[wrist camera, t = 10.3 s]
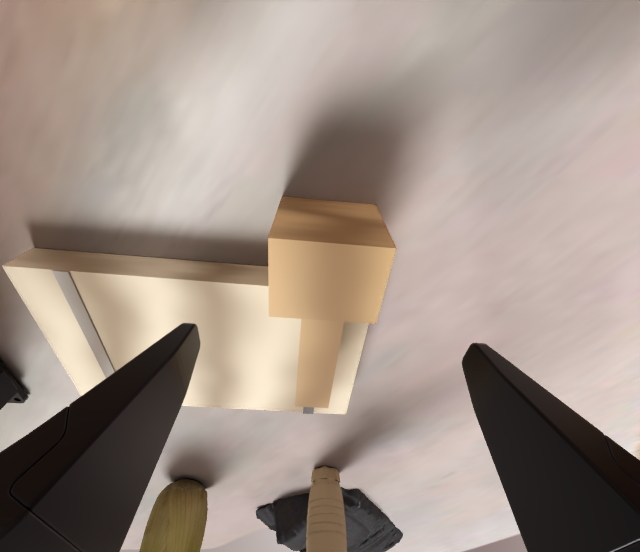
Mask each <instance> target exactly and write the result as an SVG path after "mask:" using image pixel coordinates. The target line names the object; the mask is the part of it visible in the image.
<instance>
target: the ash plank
mask: <svg viewBox="0 0 640 552" xmlns="http://www.w3.org/2000/svg"><path fill="white" fill-rule="evenodd" d="M2 267H3V269H4V270H5V272H6V274H7V275H8V277H9V279H10V280H11V282H12V283H13V285H14V287H15V288H16V290H17V292H18V293H19V295H20V297H21V298H22V300H23V301H24V303H25V305H26V306H27V308H28V310H29V311H30V313H31V315H32V316H33V318H34V319H35V321H36V323H37V324H38V326H39V328H40V329H41V331H42V333H43V334H44V336H45V337H46V339H47V341H48V342H49V344H50V346H51V347H52V349H53V351H54V352H55V354H56V355H57V357H58V359H59V360H60V362H61V364H62V365H63V367H64V369H65V370H66V372H67V373H68V375H69V377H70V378H71V380H72V382H73V383H74V385H75V387H76V388H77V390H78V391H79V393H80V395H81V396H82V395H84V394H85V393H86V392H88V391H89V390H91V389H92V388H93V387H95V386H96V385H97V384H99V383H100V382H102V381H103V380H104V379H106V378H107V377H109V376H110V375H111V374H113V373H114V372H115V371H117V370H118V369H120V368H121V367H122V366H124V365H125V364H126V363H128V362H129V361H131V360H132V359H133V358H135V357H136V356H138V355H139V354H140V353H142V352H143V351H144V350H146V349H147V348H149V347H150V346H151V345H153V344H154V343H155V342H157V341H158V340H160V339H161V338H162V337H164V336H165V335H166V334H168V333H169V332H171V331H172V330H173V329H175V328H176V327H178V326H179V325H180V324H182V323H194V324H196V325H197V327H198V331H199V337H200V342H201V344H200V350H199V353H198V357H197V360H196V363H195V367H194V370H193V374H192V377H191V380H190V384H189V387H188V390H187V393H186V396H185V398H184V401H183V403H182V406H197V407H216V408H235V409H254V410H273V411H291V412H303V413H306V414H313V413H329V414H346V411H347V407H348V404H349V400H350V396H351V392H352V388H353V384H354V380H355V376H356V372H357V368H358V364H359V361H360V357H361V353H362V349H363V345H364V341H365V337H366V333H367V329H368V325H369V323H356V322H344V326H343V332H342V337H341V342H340V348H339V353H338V358H337V364H336V369H335V374H334V380H333V385H332V391H331V396H330V401H329V407H328V408H316V407H297V406H295V398H296V385H297V372H298V358H299V345H300V331H301V319H297V318H282V317H269V285H268V267H266V266H254V265H241V264H229V263H216V262H203V261H191V260H178V259H166V258H153V257H141V256H128V255H115V254H103V253H90V252H78V251H65V250H53V249H40V248H33V249H31V250H29V251H27V252H26V253H24V254H22V255H20V256H18V257H17V258H15V259H13V260H11V261H10V262H8V263H6V264H4V265H2Z"/></svg>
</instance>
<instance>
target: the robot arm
mask: <svg viewBox="0 0 640 552" xmlns="http://www.w3.org/2000/svg"><path fill="white" fill-rule="evenodd" d="M200 344H201V342H200V337H199V331H198V327H197V325H196V324H194V323H182V324H180V325H179V326H178V327H176V328H175V329H173V330H172V331H171V332H169V333H168V334H166V335H165V336H164V337H162V338H161V339H160V340H158V341H157V342H155V343H154V344H153V345H151V346H150V347H149V348H147V349H146V350H144V351H143V352H142V353H140V354H139V355H138V356H136V357H135V358H133V359H132V360H131V361H129V362H128V363H126V364H125V365H124V366H122V367H121V368H120V369H118V370H117V371H115V372H114V373H113V374H111V375H110V376H109V377H107V378H106V379H104V380H103V381H102V382H100V383H99V384H97V385H96V386H95V387H93V388H92V389H91V390H89V391H88V392H86V393H85V394H84V395H82V396H81V397H80V398H78V399H77V400H75V401H74V402H73V403H71V404H70V406H69V407H66V408H64V409H63V410H61V411H60V412H59V413H57V414H56V415H55V416H53V417H52V418H50V419H49V420H47V421H46V422H45V423H43V424H42V425H40V426H39V427H37V428H36V429H35V430H33V431H32V432H30V433H29V434H27V435H26V436H25V437H23V438H22V439H20V440H18V441H17V442H15V443H14V444H12V445H11V446H9V447H8V448H6V449H5V450H3V451H2V452H0V552H119V551H120V549H121V547H122V544H123V542H124V540H125V537H126V535H127V533H128V530H129V528H130V526H131V523H132V521H133V519H134V516H135V514H136V511H137V509H138V507H139V504H140V502H141V500H142V497H143V495H144V493H145V490H146V488H147V486H148V483H149V481H150V479H151V476H152V474H153V471H154V469H155V467H156V464H157V462H158V460H159V457H160V455H161V453H162V450H163V448H164V446H165V443H166V441H167V439H168V436H169V434H170V431H171V429H172V427H173V424H174V422H175V420H176V417H177V415H178V413H179V410H180V408H181V406H182V403H183V401H184V398H185V396H186V393H187V390H188V387H189V384H190V380H191V377H192V374H193V370H194V367H195V363H196V360H197V357H198V353H199V350H200ZM462 367H463V371H464V374H465V378H466V382H467V386H468V390H469V393H470V397H471V401H472V404H473V408H474V411H475V414H476V417H477V419H478V422H479V425H480V427H481V430H482V432H483V435H484V438H485V440H486V443H487V446H488V448H489V451H490V454H491V456H492V459H493V462H494V464H495V467H496V470H497V472H498V475H499V477H500V480H501V483H502V485H503V488H504V491H505V493H506V496H507V499H508V501H509V504H510V507H511V509H512V512H513V514H514V517H515V520H516V522H517V525H518V528H519V530H520V533H521V536H522V538H523V541H524V544H525V546H526V549H527V551H528V552H640V460H638V459H637V458H636V457H634V456H633V455H632V454H630V453H629V452H628V451H626V450H625V449H623V448H622V447H621V446H620V445H618V444H617V443H616V442H614V441H613V440H612V439H610V438H609V437H608V436H606V435H604V434H603V433H602V432H601V431H600V430H598V429H597V428H596V427H594V426H593V425H592V424H591V423H589V422H588V421H587V420H585V419H584V418H583V417H581V416H580V415H579V414H577V413H576V412H575V411H573V410H572V409H571V408H569V407H568V406H567V405H565V404H564V403H563V402H562V401H560V400H559V399H558V398H556V397H555V396H554V395H552V394H551V393H550V392H548V391H547V390H546V389H544V388H543V387H542V386H540V385H539V384H538V383H537V382H535V381H534V380H533V379H531V378H530V377H529V376H527V375H526V374H525V373H523V372H522V371H521V370H519V369H518V368H517V367H515V366H514V365H513V364H512V363H510V362H509V361H508V360H506V359H505V358H504V357H502V356H501V355H500V354H498V353H497V352H496V351H494V350H493V349H492V348H490V347H489V346H488V345H486V344H483V343H472V344H471V345H470V346H469V348H468V350H467V352H466V354H465V355H464V357H463V360H462ZM27 399H28V395H27V394H26V393H25V392H24V390H23V389H22V388H21V387H20V385H19V384H18V383H17V381H16V380H15V379H14V378H13V376H12V375H11V374H10V372H9V371H8V370H7V369H6V367H5V366H4V365H3V364H2V362H1V361H0V409H1V408H2V407H3V406H4V405H5V404H6V403H24V402H25V401H26V400H27Z"/></svg>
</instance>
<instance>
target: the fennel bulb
mask: <svg viewBox="0 0 640 552" xmlns="http://www.w3.org/2000/svg"><path fill="white" fill-rule="evenodd" d="M207 510H208V508H207V492H206V490H205V488H204V487H203V486H202V485H201V484H200V483H199V482H197V481H194V480H187V479H182V480H178V481H176V482H173V483H171V484H169V485H168V486H166V488H164V489H163V491H162V492H161V493H160V494H159V496H158V497H157V499H156V502H155V504H154V506H153V509H152V511H151V514H150V517H149V520H148V522H147V526H146V529H145V532H144V536H143V540H142V544H141V548H140V552H200V548H201V545H202V541H203V536H204V532H205V526H206V520H207Z"/></svg>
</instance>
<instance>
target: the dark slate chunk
mask: <svg viewBox="0 0 640 552" xmlns="http://www.w3.org/2000/svg"><path fill="white" fill-rule="evenodd" d="M340 488H341V491H342V496H343V503H344V514H345V522H346V540H347V552H385V551H387V550H389V549H390V548H392V547H393V546H394V545H395V544H396V543H399V542H400V540H401V538H402V536H403V534H402V533H401V531H400V530H399V529H398V528H396V527H395V525H394V524H393V523H392V522H391V521H390V519H389V518H388V517H387V516H386V515H385V514H384V513H382V512H381V510H379V509H378V507H376V506H375V505H374V504H373V503H372V502H371V501H370V500H369V499H368V498H366V496H365V495H364V494H363V493H361V491H360V490H358V489H352V490H346V489H344V488H342V487H340ZM309 495H310V493H305V494H301V495H296V496H292V497H288V498H284V499H280V500H278V501H277V502H273V503H272V504H268V505H266V507H264V508H260V509H258V510H256V516H257V519H260V520H261V521H262V522H263V523H264V524H265V525H267V526H268V527H269V529H271V530H274V531H276V536H277V543H278V544H283V545H285V546H287V547H288V548H290V549H291V550H293V551H298V550H299V551H300V552H306V540H307V537H306V534H307V514H308V502H309Z"/></svg>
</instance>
